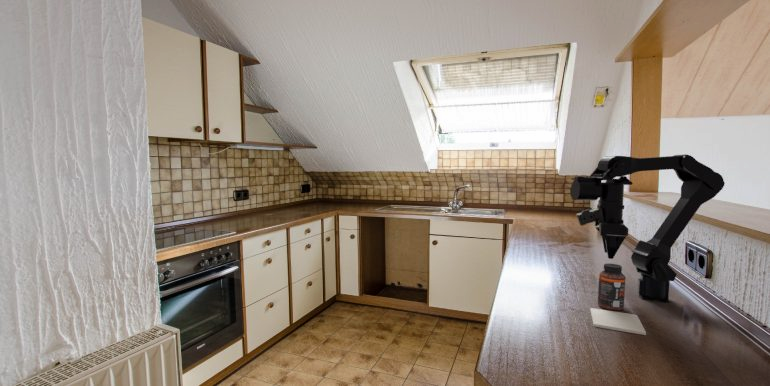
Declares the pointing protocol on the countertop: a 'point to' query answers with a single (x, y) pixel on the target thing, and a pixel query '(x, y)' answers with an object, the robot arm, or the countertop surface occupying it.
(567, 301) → the countertop surface
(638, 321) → the mat
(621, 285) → the supplement bottle
